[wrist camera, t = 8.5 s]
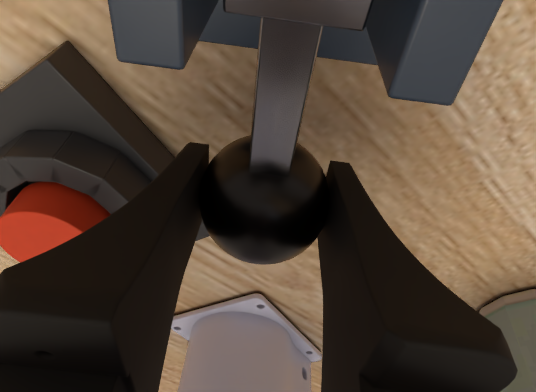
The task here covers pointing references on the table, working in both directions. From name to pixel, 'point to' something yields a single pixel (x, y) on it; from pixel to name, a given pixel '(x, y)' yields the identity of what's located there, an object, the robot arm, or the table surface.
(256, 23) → the bracket
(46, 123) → the button block
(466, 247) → the table surface
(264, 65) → the lever
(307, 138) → the table surface
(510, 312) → the disposable coffee cup
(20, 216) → the button
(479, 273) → the table surface
